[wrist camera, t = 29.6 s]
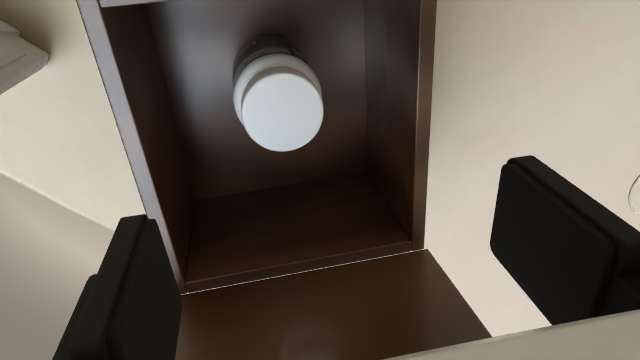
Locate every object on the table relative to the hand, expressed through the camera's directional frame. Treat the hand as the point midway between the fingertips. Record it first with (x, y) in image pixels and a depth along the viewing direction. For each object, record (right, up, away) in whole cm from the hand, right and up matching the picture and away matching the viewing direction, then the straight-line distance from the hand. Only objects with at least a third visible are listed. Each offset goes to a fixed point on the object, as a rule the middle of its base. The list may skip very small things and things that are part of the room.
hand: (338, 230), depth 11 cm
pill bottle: (-4, +8, +16) cm, 19 cm away
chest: (-4, +7, +18) cm, 20 cm away
